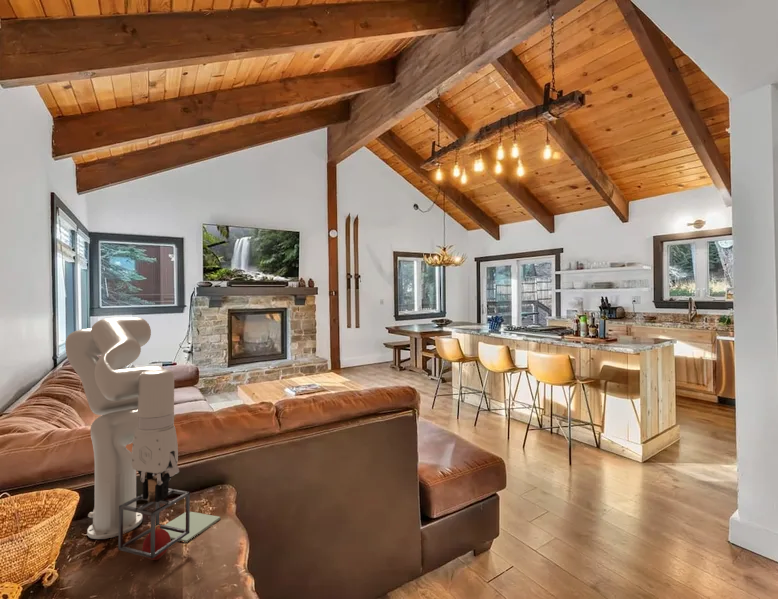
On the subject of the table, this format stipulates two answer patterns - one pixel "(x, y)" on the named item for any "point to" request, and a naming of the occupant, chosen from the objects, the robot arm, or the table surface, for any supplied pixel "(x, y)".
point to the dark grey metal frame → (153, 519)
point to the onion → (157, 541)
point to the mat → (191, 525)
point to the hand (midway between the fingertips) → (155, 497)
